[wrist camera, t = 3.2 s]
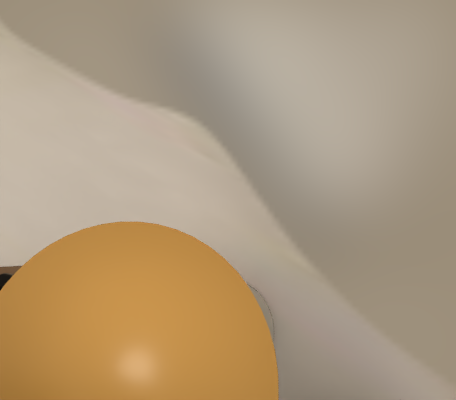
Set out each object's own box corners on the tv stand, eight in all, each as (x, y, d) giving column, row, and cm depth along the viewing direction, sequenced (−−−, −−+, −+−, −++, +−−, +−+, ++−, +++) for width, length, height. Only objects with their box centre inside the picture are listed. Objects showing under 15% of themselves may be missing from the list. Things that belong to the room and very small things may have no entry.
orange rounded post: (276, 377, 16) (330, 625, 3) (180, 380, 16) (-102, 619, 4) (269, 278, 17) (290, 186, 4) (179, 283, 17) (-38, 208, 5)
